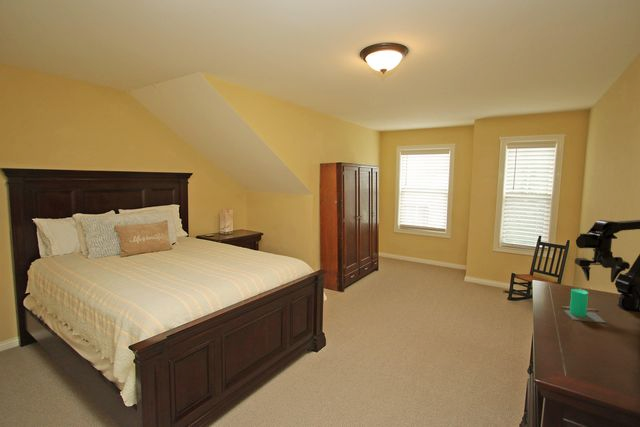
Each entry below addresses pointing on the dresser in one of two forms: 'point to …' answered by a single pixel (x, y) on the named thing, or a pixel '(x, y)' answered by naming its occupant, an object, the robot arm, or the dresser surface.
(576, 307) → the candle
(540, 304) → the dresser surface
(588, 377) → the dresser surface
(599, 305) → the dresser surface
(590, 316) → the mat
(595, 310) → the line strip
